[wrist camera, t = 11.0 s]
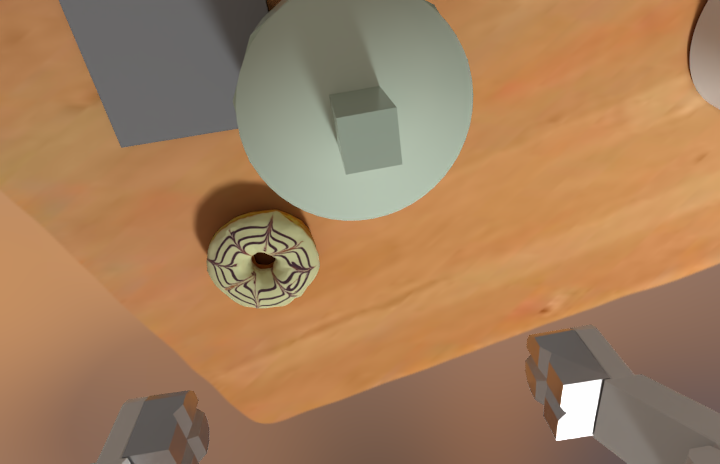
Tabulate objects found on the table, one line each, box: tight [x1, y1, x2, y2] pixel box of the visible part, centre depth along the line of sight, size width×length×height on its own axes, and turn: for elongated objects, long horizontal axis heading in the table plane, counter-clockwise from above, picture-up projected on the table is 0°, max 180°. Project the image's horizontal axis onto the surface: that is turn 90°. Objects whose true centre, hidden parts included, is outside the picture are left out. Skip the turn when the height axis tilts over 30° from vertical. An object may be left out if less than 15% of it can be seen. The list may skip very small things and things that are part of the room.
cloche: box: [233, 0, 473, 221], centre depth 30 cm, size 14×14×18 cm
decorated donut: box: [207, 209, 320, 308], centre depth 45 cm, size 10×11×4 cm
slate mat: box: [59, 0, 269, 148], centre depth 36 cm, size 15×15×1 cm
